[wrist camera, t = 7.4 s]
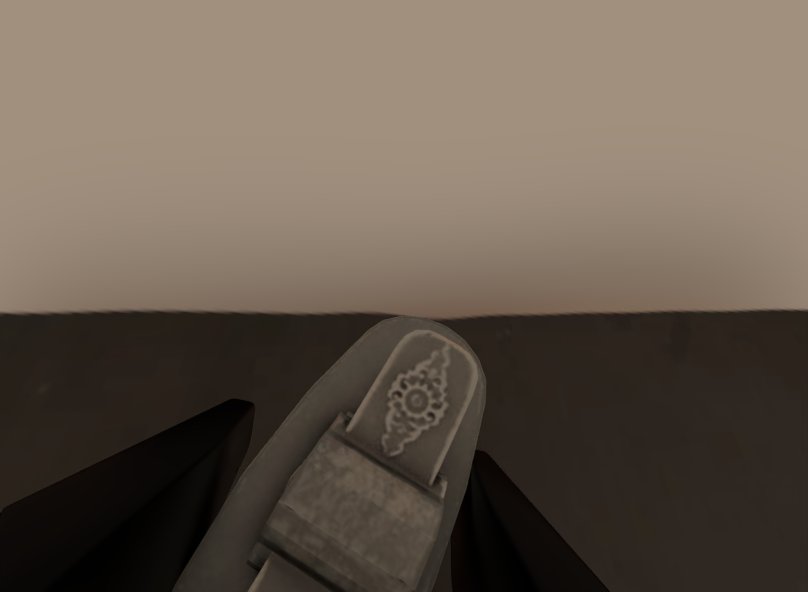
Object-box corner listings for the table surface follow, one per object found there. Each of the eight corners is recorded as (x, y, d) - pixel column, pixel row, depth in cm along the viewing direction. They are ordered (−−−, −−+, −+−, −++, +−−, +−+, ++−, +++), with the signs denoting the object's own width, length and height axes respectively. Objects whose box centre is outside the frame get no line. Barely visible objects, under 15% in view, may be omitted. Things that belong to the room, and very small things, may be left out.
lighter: (356, 376, 15) (389, 204, 6) (435, 424, 14) (600, 320, 5) (203, 619, 11) (-388, 1212, 2) (305, 690, 11) (139, 1776, 2)
